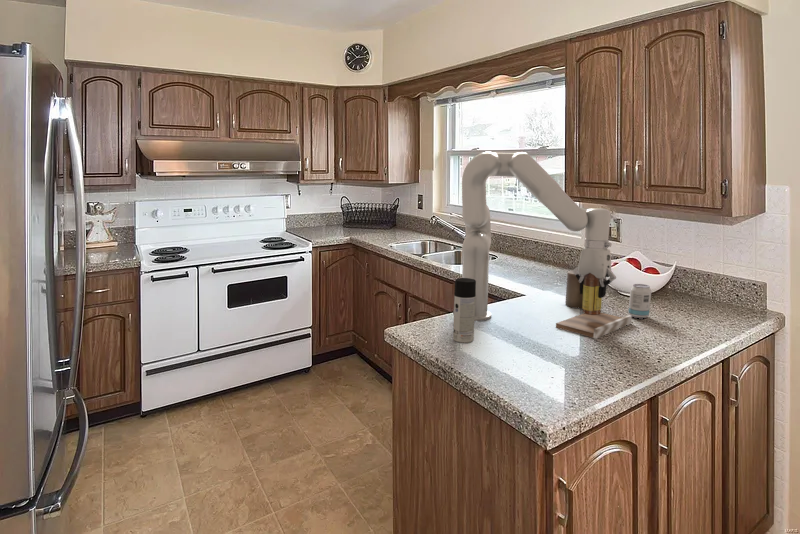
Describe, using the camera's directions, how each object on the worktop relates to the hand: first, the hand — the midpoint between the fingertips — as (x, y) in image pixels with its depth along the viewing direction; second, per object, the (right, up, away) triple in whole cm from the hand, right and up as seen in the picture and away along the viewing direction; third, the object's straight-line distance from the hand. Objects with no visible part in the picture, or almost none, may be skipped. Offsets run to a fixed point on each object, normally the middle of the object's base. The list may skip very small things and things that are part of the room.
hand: (592, 294), depth 175 cm
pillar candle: (+4, -6, +26) cm, 27 cm away
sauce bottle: (0, -7, +1) cm, 7 cm away
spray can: (-47, -14, -13) cm, 51 cm away
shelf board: (+1, -11, +1) cm, 11 cm away
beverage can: (+21, -9, +11) cm, 26 cm away
